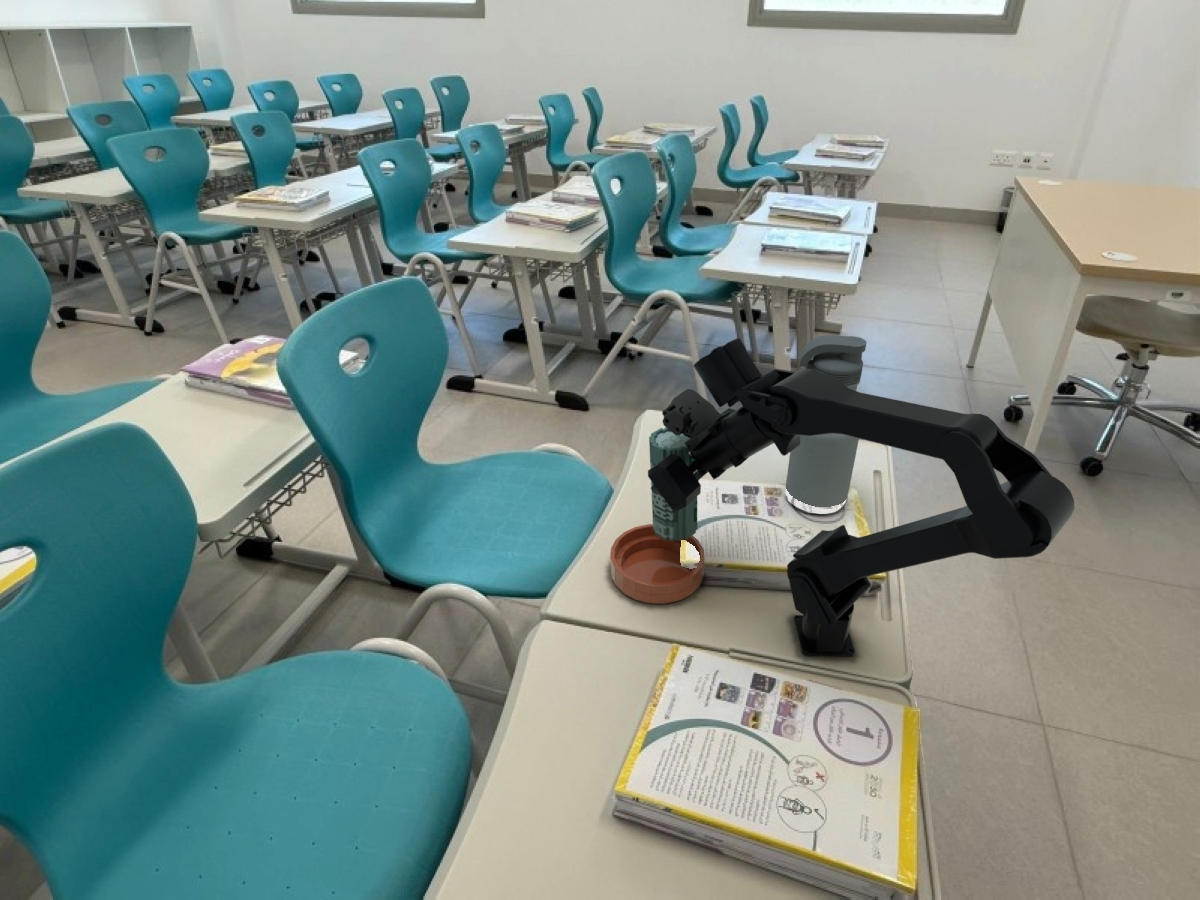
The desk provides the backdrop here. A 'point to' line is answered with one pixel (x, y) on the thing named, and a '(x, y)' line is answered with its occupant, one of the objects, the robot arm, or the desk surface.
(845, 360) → the water bottle
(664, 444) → the can
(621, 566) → the bowl
